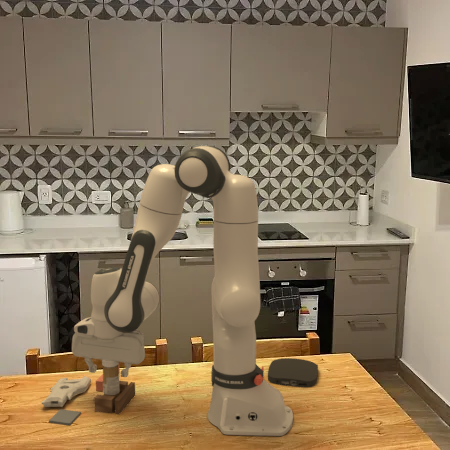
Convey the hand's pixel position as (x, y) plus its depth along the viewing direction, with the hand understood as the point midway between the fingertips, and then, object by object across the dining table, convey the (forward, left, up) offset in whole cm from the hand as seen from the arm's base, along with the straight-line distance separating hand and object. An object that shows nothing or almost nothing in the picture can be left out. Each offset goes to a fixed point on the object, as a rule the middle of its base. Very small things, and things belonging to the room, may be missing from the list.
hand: (108, 374), depth 159 cm
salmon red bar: (+6, -12, -9) cm, 15 cm away
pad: (+8, +10, -9) cm, 16 cm away
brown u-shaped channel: (-2, 0, -8) cm, 9 cm away
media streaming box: (-47, -29, -9) cm, 56 cm away
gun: (+13, -1, -9) cm, 16 cm away
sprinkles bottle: (-1, 0, -9) cm, 9 cm away
